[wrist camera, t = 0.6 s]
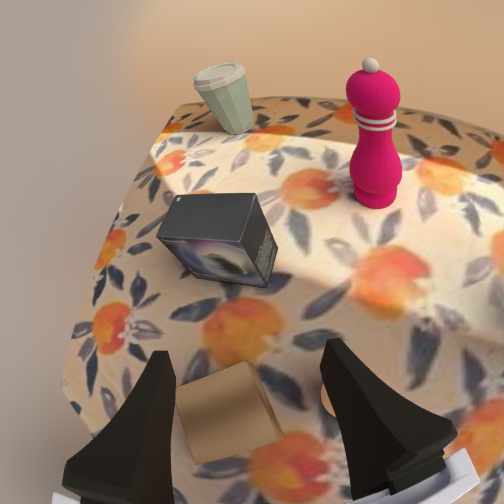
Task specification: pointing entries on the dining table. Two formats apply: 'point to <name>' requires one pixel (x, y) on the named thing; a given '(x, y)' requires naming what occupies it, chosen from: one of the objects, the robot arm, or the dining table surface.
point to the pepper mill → (374, 135)
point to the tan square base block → (226, 414)
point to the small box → (221, 237)
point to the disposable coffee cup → (226, 96)
